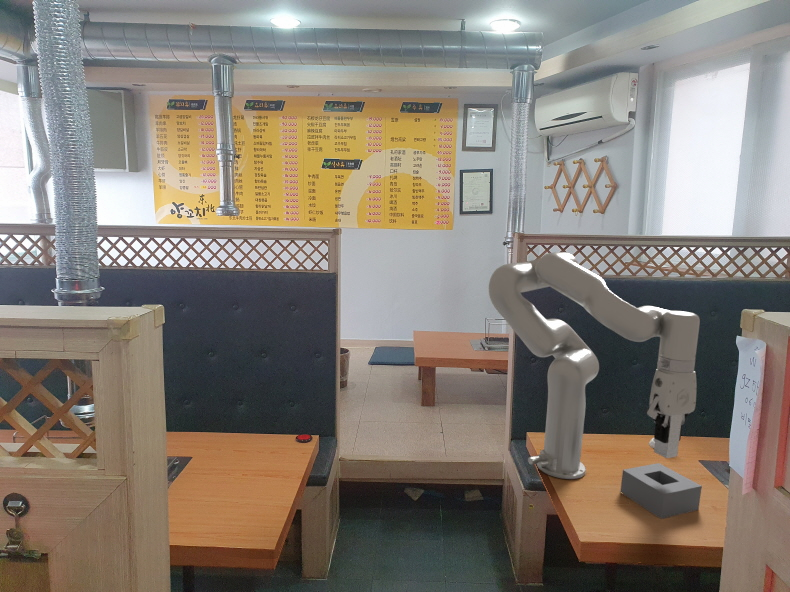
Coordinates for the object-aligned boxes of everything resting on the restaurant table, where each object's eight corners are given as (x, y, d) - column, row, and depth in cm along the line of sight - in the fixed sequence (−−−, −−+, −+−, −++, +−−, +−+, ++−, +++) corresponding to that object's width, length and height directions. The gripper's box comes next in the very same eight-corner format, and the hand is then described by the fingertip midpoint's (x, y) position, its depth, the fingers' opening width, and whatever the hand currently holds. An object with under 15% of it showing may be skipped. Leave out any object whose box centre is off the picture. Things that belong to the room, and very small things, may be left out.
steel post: (666, 458, 122) (672, 404, 120) (653, 452, 125) (659, 399, 123) (677, 456, 123) (683, 403, 121) (664, 450, 126) (670, 398, 124)
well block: (661, 518, 118) (664, 494, 117) (620, 492, 129) (622, 469, 128) (698, 509, 123) (701, 485, 122) (656, 485, 133) (658, 463, 133)
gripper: (663, 371, 114) (654, 451, 117) (715, 366, 120) (706, 441, 123) (635, 362, 121) (628, 437, 124) (686, 358, 127) (678, 429, 130)
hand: (667, 439), depth 123 cm, fingers closed on steel post, 3 cm apart
